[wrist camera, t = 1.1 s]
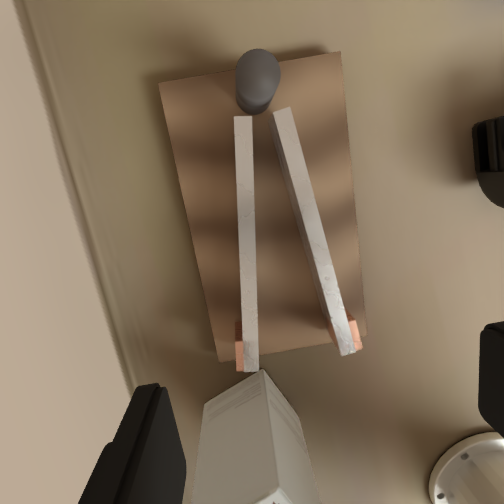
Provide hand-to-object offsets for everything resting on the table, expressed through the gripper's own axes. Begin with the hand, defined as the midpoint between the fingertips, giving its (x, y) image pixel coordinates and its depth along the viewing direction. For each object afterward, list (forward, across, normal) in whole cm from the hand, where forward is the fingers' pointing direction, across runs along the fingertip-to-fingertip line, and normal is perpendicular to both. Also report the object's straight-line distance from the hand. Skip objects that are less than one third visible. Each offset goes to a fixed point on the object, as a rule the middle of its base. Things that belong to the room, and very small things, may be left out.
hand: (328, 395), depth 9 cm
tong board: (+20, -1, -2) cm, 20 cm away
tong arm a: (+18, -4, -1) cm, 18 cm away
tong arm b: (+18, +2, -1) cm, 18 cm away
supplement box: (+20, +4, +17) cm, 26 cm away
